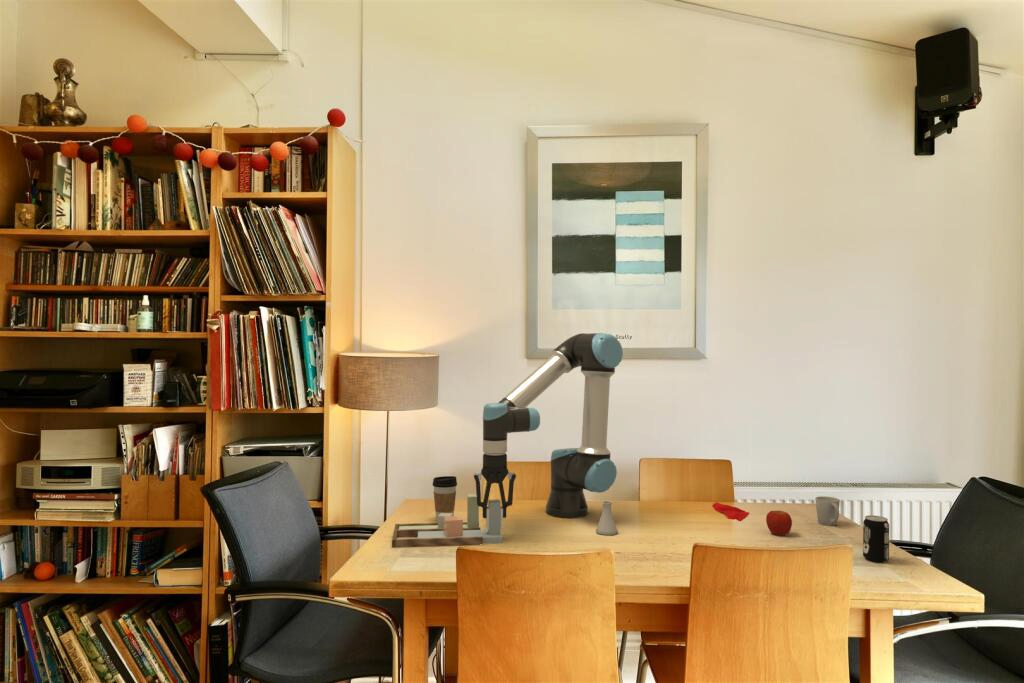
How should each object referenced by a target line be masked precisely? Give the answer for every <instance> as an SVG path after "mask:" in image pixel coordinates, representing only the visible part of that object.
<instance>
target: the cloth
mask: <svg viewBox="0 0 1024 683" xmlns="http://www.w3.org/2000/svg"><path fill="white" fill-rule="evenodd" d="M711 507H712V508H713V510H715V512H717V513H723V514H724V515H725V516H726V518H727V519H728V520H736V521H737V520H738V522H739V521H740V522H742V521H744V519H746V518H747V517H749V515H750V512H749V511H746V510H743V509H741V508H739V507H736V506H732V505H730V504H729V505H728V504H723V503H720V502H719V501H716V502H714V503H713V504H712V506H711Z"/></svg>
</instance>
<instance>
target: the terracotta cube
mask: <svg viewBox="0 0 1024 683" xmlns="http://www.w3.org/2000/svg"><path fill="white" fill-rule="evenodd" d="M463 522H464V520H463V518H462V517H461V516H460V515H454V516H448V517H444V534H445V536H446V537H457V536H463Z"/></svg>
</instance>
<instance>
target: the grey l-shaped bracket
mask: <svg viewBox="0 0 1024 683" xmlns="http://www.w3.org/2000/svg"><path fill="white" fill-rule="evenodd" d="M466 496H467V497H466V498H467V500H466V501H467V502H466V503H467V505H466V506H467V507H466V509H467V510H466V514H467V515H466V516H467V517H466V518H467V519H466V522H467V524H464V525H463V528H476V527H480V522H479V521H480V515H479V514H480V509H479V508H480V506H478V505H477V496H476V493H470V494H469V493H467V495H466ZM400 529H438V525H426V526H399V530H400Z"/></svg>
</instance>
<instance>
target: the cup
mask: <svg viewBox="0 0 1024 683" xmlns="http://www.w3.org/2000/svg"><path fill="white" fill-rule="evenodd" d="M840 503H841V502H840V499H839V498H837V497H834V496H833V497H832V496H824V495H823V496H821V495H820V496H816V497H815V507H816V508H815V509H816V515H817V516H816V517H817V522H818V524H820V525H822V526H827V527H828V526H830V527H834V526H836V525H837V523H838V520H839V517H840V510H839V509H840Z"/></svg>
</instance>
